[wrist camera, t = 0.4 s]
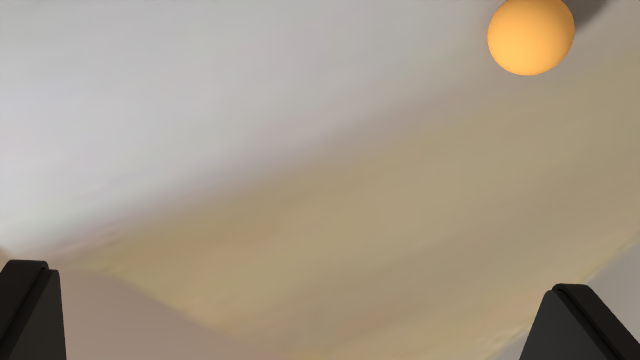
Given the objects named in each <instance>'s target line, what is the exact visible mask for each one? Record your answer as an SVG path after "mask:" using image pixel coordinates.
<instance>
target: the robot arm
mask: <svg viewBox="0 0 640 360" xmlns="http://www.w3.org/2000/svg"><path fill="white" fill-rule="evenodd" d="M0 360H66V348H65V337H64V324H63V312H62V302H61V288H60V276H59V272H58V270H51V269H49V267H48V264H47V262H46V261H35V260H9V261H8V262H7V263H6V265H5V266H4V268H3V269H2V271H1V272H0ZM519 360H640V344H639V343H638V341H637V340H636V339H635V338H634V337H633V336H632V335H631V333H630V332H629V331H628V330H627V329H626V328H625V327H624V325H623V324H622V323H621V322H620V321H619V320H618V319H617V318H616V316H615V315H614V314H613V313H612V312H611V311H610V309H609V308H608V307H607V306H606V305H605V304H604V303H603V302H602V300H601V299H600V298H599V297H598V296H597V295H596V293H595V292H594V291H593V290H592V289H591V288H590V287H589V286H587V285H584V284H562V283H560V284H556V285H555V286H554V287H553V288H552V290H549V291H547V292H546V293H545V295H544V297H543V299H542V302H541V304H540V307H539V310H538V312H537V315H536V317H535V320H534V323H533V325H532V328H531V330H530V333H529V336H528V338H527V341H526V343H525V346H524V348H523V351H522V354H521V356H520V359H519Z"/></svg>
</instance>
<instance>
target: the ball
mask: <svg viewBox="0 0 640 360" xmlns="http://www.w3.org/2000/svg"><path fill="white" fill-rule="evenodd" d="M574 33H575V27H574V20H573V17H572V14H571V12H570V10H569V9H568V7H567V6H566V5H565V3H564V2H563V1H561V0H507V1H506V2H504V3H503V4H502V5H501V6H500V7H499V8H498V10H497V11H496V12H495V14H494V16H493V17H492V19H491V22H490V25H489V28H488V45H489V49H490V52H491V54H492V56H493V58H494V59H495V60H496V62H497V63H498V64H499V65H500V66H501V67H503V68H504V69H506V70H508V71H510V72H512V73H515V74H519V75H536V74H540V73H543V72H546V71H548V70H550V69H552V68H553V67H555V66H556V65H557V64H558V63H560V62H561V61H562V60H563V58H564V57H565V56H566V54H567V53H568V51H569V50H570V48H571V45H572V43H573V39H574Z"/></svg>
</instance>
